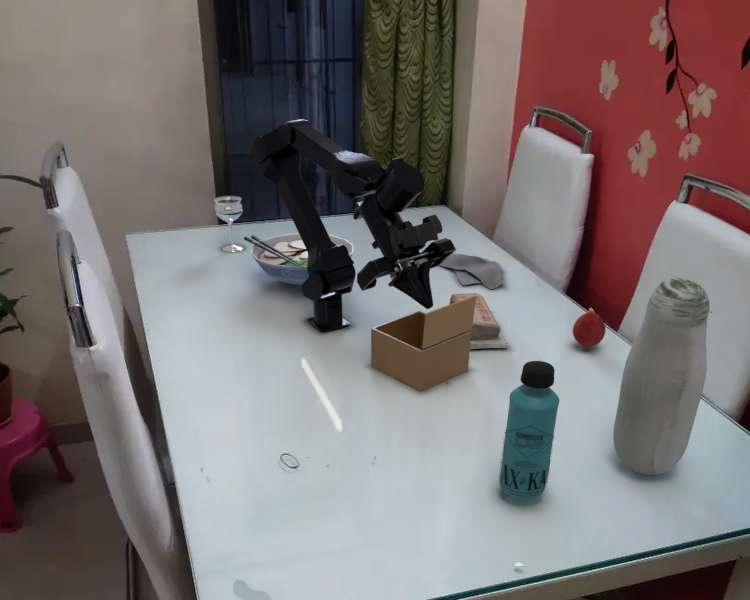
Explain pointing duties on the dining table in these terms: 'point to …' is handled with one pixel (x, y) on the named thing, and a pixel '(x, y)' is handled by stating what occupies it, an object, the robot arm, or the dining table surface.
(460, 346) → the carton
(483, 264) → the cloth
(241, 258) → the dining table surface
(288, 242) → the ramen bowl
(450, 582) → the dining table surface
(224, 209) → the wineglass
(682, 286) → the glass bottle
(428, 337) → the flap
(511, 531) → the dining table surface
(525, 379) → the beverage bottle
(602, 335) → the onion
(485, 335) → the packaged product
